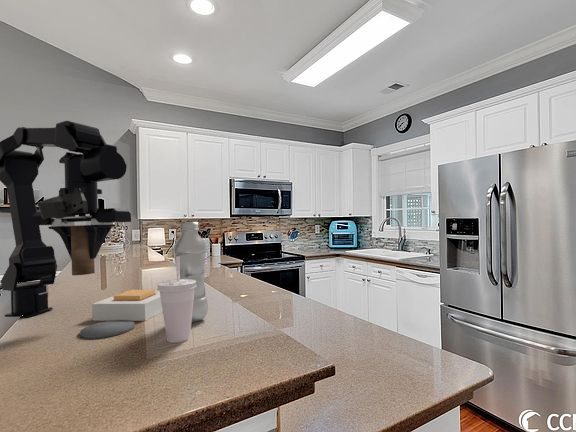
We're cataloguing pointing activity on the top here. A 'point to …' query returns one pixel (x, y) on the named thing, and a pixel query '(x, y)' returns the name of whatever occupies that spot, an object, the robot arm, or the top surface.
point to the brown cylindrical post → (81, 252)
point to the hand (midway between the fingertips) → (83, 259)
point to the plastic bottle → (193, 265)
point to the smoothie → (177, 306)
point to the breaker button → (134, 295)
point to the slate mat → (107, 329)
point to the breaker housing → (127, 309)
